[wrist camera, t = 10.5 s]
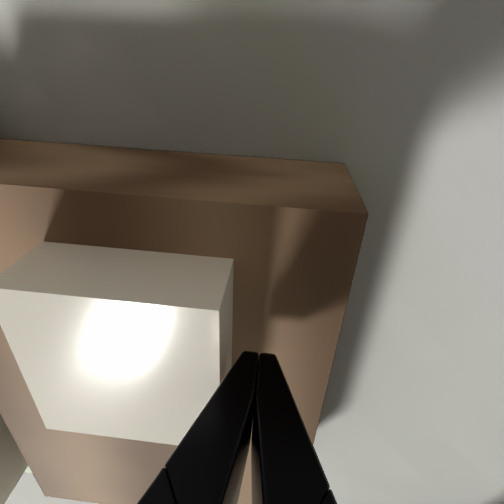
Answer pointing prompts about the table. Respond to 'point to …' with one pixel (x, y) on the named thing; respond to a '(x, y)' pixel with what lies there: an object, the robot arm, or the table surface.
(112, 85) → the table surface
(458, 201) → the table surface
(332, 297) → the board
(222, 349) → the tile
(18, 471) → the tile
